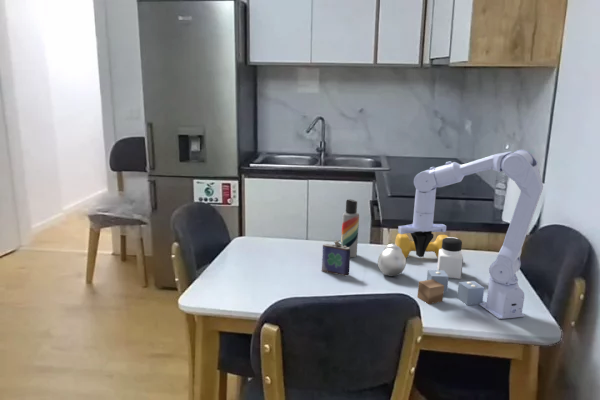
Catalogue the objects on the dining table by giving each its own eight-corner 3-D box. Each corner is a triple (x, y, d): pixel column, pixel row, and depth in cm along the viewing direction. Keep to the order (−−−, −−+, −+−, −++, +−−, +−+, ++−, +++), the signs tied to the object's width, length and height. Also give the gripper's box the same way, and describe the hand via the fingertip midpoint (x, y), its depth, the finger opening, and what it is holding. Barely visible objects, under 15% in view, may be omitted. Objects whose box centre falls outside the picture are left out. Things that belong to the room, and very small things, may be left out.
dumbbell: (396, 260, 185) (398, 238, 183) (392, 252, 194) (394, 230, 192) (451, 262, 185) (454, 240, 183) (445, 254, 194) (447, 232, 192)
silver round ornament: (409, 273, 173) (412, 244, 171) (398, 282, 166) (400, 251, 163) (384, 267, 178) (386, 238, 176) (371, 275, 171) (373, 245, 168)
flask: (320, 271, 173) (322, 239, 170) (323, 268, 175) (325, 237, 173) (347, 276, 169) (349, 244, 167) (350, 273, 172) (352, 241, 169)
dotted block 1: (446, 292, 160) (448, 275, 159) (430, 291, 160) (431, 275, 159) (442, 285, 165) (444, 269, 164) (426, 285, 165) (427, 269, 164)
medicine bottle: (461, 279, 170) (465, 243, 167) (437, 277, 171) (441, 241, 169) (459, 271, 177) (463, 236, 174) (436, 269, 178) (440, 234, 175)
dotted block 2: (482, 304, 152) (484, 286, 151) (466, 305, 151) (468, 288, 150) (472, 296, 157) (474, 280, 156) (457, 298, 156) (458, 281, 155)
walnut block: (442, 301, 153) (444, 285, 152) (428, 304, 151) (430, 288, 150) (431, 295, 157) (432, 279, 156) (417, 297, 155) (418, 281, 154)
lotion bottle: (337, 253, 190) (340, 198, 185) (351, 251, 193) (354, 197, 188) (345, 258, 185) (348, 202, 180) (359, 256, 188) (363, 201, 183)
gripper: (439, 207, 162) (435, 250, 165) (395, 208, 158) (391, 252, 161) (451, 213, 155) (447, 257, 158) (405, 215, 151) (402, 260, 154)
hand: (419, 255), depth 159 cm, fingers closed
